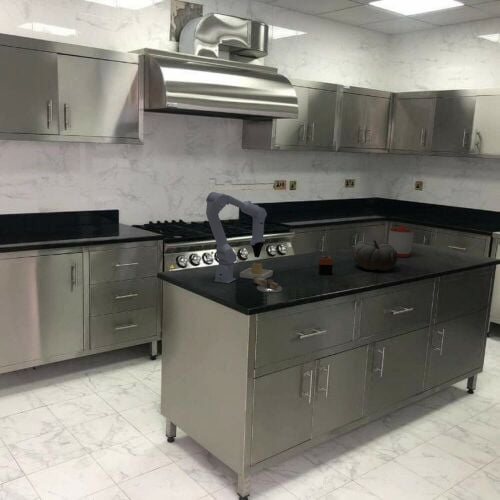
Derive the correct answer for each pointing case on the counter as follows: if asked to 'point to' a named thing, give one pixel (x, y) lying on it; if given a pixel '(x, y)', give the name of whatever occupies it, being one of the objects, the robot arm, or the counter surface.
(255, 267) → the stop block
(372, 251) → the gourd
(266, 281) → the crank lever
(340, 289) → the counter surface
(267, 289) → the crank base
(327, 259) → the battery
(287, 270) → the counter surface
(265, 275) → the tray
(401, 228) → the citrus juicer
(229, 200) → the robot arm
